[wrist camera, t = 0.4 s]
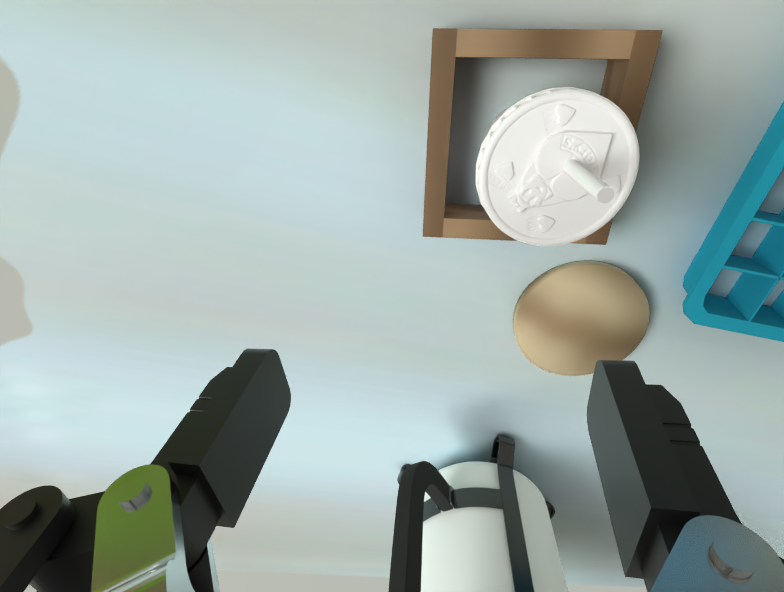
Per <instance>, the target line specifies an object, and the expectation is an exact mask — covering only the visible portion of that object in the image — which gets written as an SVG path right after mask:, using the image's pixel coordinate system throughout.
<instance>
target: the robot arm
mask: <svg viewBox="0 0 784 592" xmlns="http://www.w3.org/2000/svg"><path fill="white" fill-rule="evenodd" d="M290 403H291V393H290V388H289V385H288V382H287V379H286V376H285V373H284V370H283V367H282V364H281V361H280V358H279V355H278V353H277V351H276V350H273V349H246V350H244V351H243V353H242V354H241V355H240V357H239V358H238V360H237V361H236V363H235V364H234V366H233V367H227V368H225V369H224V370H223V371H222V372H220V373H219V374H218V375H217V376H215V377H214V378H213V379H212V380H210V382H209V383H208V385H207V386H206V387H205V389H204V390H203V392H202V393H201V394H200V396H199V399H197V400H196V401H195V403H194V404H193V406H192V407H191V408H190V412H188V413H187V414H186V415H185V417H184V418H183V419H182V421H181V422H180V424H179V425H178V426H177V428H176V429H175V431H174V432H173V433H172V435H171V436H170V438H169V439H168V440H167V442H166V443H165V445H164V446H163V447H162V449H161V450H160V452H159V453H158V454H157V456H156V457H155V459H154V460H153V461H152V463H151V464H150V465H144V466H140V467H137V468H135V469H132V470H130V471H128V472H127V473H125V474H123V475H122V476H121V477H119V478H118V479H117V480H116V481H114V482H113V483H112V484H111V485H110V486H109V487H108V489H107V490H106V491H104V492H100V493H95V494H91V495H86V496H82V497H77V498H72V499H68V498H67V497H66V496H65V495H64V494H63V492H62V491H61V490H60V489H59V488H57V487H55V486H41V487H37V488H34V489H31V490H29V491H26V492H24V493H22V494H21V495H19V496H17V497H16V498H14V499H12V500H11V501H10V502H8V503H7V504H6V505H5V506H4V507H2V508H1V509H0V592H23V591H24V590H25V589H26V587H27V586H28V585H29V584H30V585H31V586H32V587H34V588H35V589H36V590H37V592H220V589H219V583H218V576H217V570H216V564H215V558H214V552H213V546H212V542H211V540H210V537H211V535H212V533H213V531H214V529H215V527H216V526H223V527H231V528H234V527H235V525H236V523H237V521H238V518H239V516H240V514H241V512H242V510H243V508H244V506H245V503H246V501H247V499H248V497H249V495H250V493H251V491H252V489H253V486H254V484H255V482H256V480H257V478H258V476H259V474H260V472H261V469H262V467H263V465H264V463H265V461H266V459H267V457H268V454H269V452H270V450H271V448H272V446H273V444H274V442H275V440H276V437H277V435H278V433H279V431H280V429H281V427H282V425H283V422H284V420H285V418H286V416H287V414H288V411H289V408H290ZM587 423H588V430H589V435H590V439H591V443H592V447H593V451H594V455H595V459H596V463H597V467H598V471H599V475H600V479H601V483H602V487H603V491H604V495H605V499H606V503H607V506H608V510H609V514H610V518H611V522H612V526H613V530H614V534H615V538H616V542H617V546H618V550H619V554H620V558H621V562H622V566H623V570H624V574H625V577H633V578H641V579H644V581H645V585H646V589H647V592H784V559H782V558H780V557H779V556H778V555H777V553H776V552H775V551H774V550H773V549H772V548H771V546H770V545H769V544H768V543H767V542H766V541H764V540H763V539H762V538H761V537H760V536H759V535H757V534H756V533H755V532H753V531H752V530H750V529H749V528H747V527H745V526H743V524H742V523H741V522H740V520H739V518H738V517H737V515H736V513H735V511H734V509H733V507H732V505H731V503H730V501H729V499H728V497H727V495H726V493H725V491H724V489H723V487H722V485H721V483H720V481H719V479H718V477H717V475H716V473H715V471H714V469H713V467H712V465H711V463H710V461H709V459H708V457H707V455H706V453H705V451H704V449H703V447H702V446H700V441H699V439H698V437H697V435H696V433H695V431H694V429H693V428H691V423H690V421H689V419H688V417H687V415H686V413H685V411H684V409H683V407H682V405H681V403H680V402H679V401H678V400H677V399H676V398H675V397H673V396H672V395H671V394H670V393H669V392H668V391H667V390H666V389H665V388H664V387H663V386H662V385H646V384H645V382H644V380H643V377H642V375H641V373H640V370H639V368H638V366H637V364H636V363H635V362H634V361H618V360H598V361H597V362H596V365H595V370H594V375H593V380H592V385H591V390H590V395H589V401H588V406H587Z"/></svg>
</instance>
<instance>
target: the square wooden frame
mask: <svg viewBox="0 0 784 592" xmlns="http://www.w3.org/2000/svg"><path fill="white" fill-rule="evenodd" d="M662 31H663V30H553V29H438V28H433V37H432V57H431V77H430V98H429V118H428V139H427V159H426V179H425V200H424V220H423V237H445V238H467V239H490V240H512V241H518V240H515V239H513V238H511V237H510V236H508V235H507V234H505V233H504V232H502V231H501V230H500V229H499V228H498V227H497V226H496V225H495V224H494V223H493V221H492V220H491V219H490V217H489V216H488V214H487V212H486V211H485V209H484V207H483V206H482V205H464V204H445V196H446V182H447V168H448V154H449V140H450V127H451V113H452V99H453V85H454V71H455V57H483V58H556V59H608V63H607V67H606V72H605V76H604V81H603V85H602V90H601V94H600V95H601V96H603V97H605V98H607V99H608V100H610V101H611V102H613V103H614V104H615V105H617V106H618V107H619V108H620V109H621V110H622V111H623V112H624V113H625V115H626V116H627V117H628V119H629V120H630V122H631V124H632V126H633V128H634V130H635V133H636V130H637V126H638V122H639V118H640V114H641V111H642V107H643V103H644V99H645V96H646V92H647V88H648V84H649V81H650V77H651V73H652V69H653V65H654V62H655V58H656V54H657V50H658V47H659V43H660V39H661V35H662ZM612 220H613V218H612V219H611V220H610V221H608V222H607V223H606V224H605V225H604V226H602V227H601V228H600V229H598V230H597V231H595V232H594V233H592V234H590V235H588V236H586V237H585V238H582V239H580V240H577V241H575V242H571V243H579V244H601V245H606V243H607V239H608V235H609V231H610V228H611V224H612Z"/></svg>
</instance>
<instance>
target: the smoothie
mask: <svg viewBox="0 0 784 592" xmlns="http://www.w3.org/2000/svg"><path fill="white" fill-rule="evenodd" d="M638 167H639V145H638V140H637V136H636V133H635V130H634V128H633V126H632V124H631V122H630V120H629V119H628V117H627V116H626V115H625V113H624V112H623V111H622V110H621V109H620V108H619V107H618V106H617V105H615V104H614V103H613V102H611V101H610V100H608V99H607V98H605V97H603V96H601V95H598V94H596V93H594V92H592V91H589V90H584V89H580V88H575V87H560V88H548V89H545V90H542V91H540V92H537V93H534V94H531V95H529V96H526V97H525V98H523V99H522V100H520V101H519V102H517V103H516V104H514V105H513V106H511V107H509V108H507V109H505V110H504V111H502V112H501V113H500V114H499V115H498V116H497V117H496V118H495V119H494V121H493V122H492V124H491V126H490V129H489V132H488V134H487V136H486V137H485V139H484V141H483V143H482V145H481V148H480V152H479V155H478V159H477V163H476V188H477V191H478V195H479V199H480V202H481V204H482V206H483V207H484V209H485V211H486V212H487V214H488V216H489V217H490V219H491V220H492V221H493V223H494V224H495V225H496V226H497V227H498V228H499V229H500V230H501V231H502V232H504V233H505V234H507V235H508V236H510V237H511V238H513V239H515V240H518V241H520V242H523V243H526V244H530V245H536V246H558V245H564V244H568V243H571V242H575V241H577V240H580V239H582V238H585V237H586V236H588V235H590V234H592V233H594V232H595V231H597V230H598V229H600V228H601V227H602V226H604V225H605V224H606V223H607V222H608V221H610V220H611V219H612V218H613V217H614V216H615V215H616V213H617V212H618V211H619V210H620V209H621V207H622V206H623V204H624V203H625V201H626V200H627V198H628V196H629V195H630V192H631V190H632V188H633V186H634V183H635V180H636V177H637V173H638Z"/></svg>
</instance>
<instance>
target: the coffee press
mask: <svg viewBox="0 0 784 592" xmlns="http://www.w3.org/2000/svg"><path fill="white" fill-rule="evenodd" d="M514 450H515V442H514V440H513V439H510V438H507V437H503V436H499V435H497V436H496V437H495V440H494V443H493V448H492V454H491V458H490V461H489V462H463V463H458V464H454V465H450V466H447V467H444V468H442V469H440V470H437V469H436V468H435V467H434V466H433V465H432V464H430V463H429V462H426V461H422V462H419V463H415V464H412V465H409V464H406V465H404V466H402V468H401V471H400V473H399V475H398V483H399V490H398V497H397V506H396V515H395V526H394V536H393V547H392V558H391V569H390V581H389V592H568V588H567V584H566V580H565V576H564V572H563V568H562V564H561V560H560V556H559V552H558V548H557V544H556V540H555V536H554V532H553V528H552V524H551V518H552V517H553V516H554V514H555V509H554V507H553V506H552V505H551V504H550V503H549V502H547V501H545V499H544V497H543V495H542V493H541V492H540V490H539V489H538V488H537V486H536V485H535V484H534V483H533V482H532V481H531V480H529V479H528V478H527V477H526V476H524V475H523V474H521V473H519V472H518V471H516V470H513V458H514Z"/></svg>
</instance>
